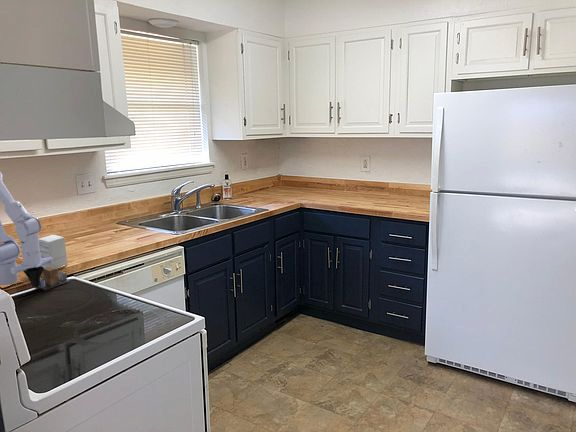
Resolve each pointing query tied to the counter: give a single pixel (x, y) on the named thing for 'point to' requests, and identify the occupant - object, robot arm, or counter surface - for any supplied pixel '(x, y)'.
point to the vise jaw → (41, 283)
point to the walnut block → (50, 275)
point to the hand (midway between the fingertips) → (35, 286)
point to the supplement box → (53, 250)
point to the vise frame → (62, 280)
